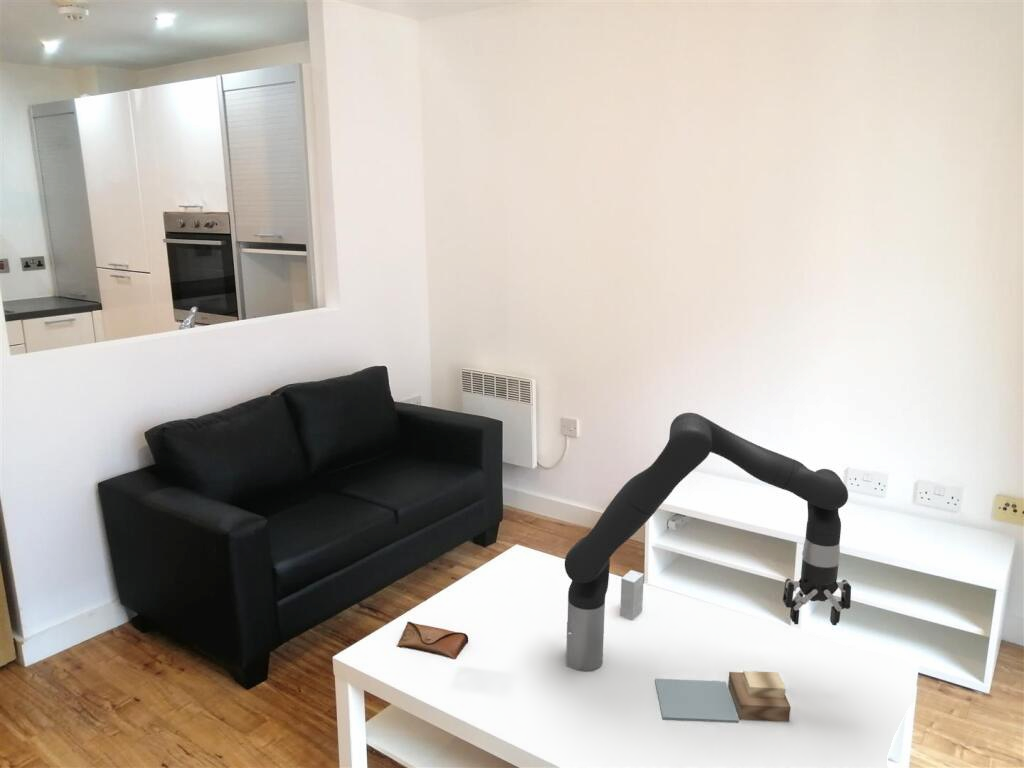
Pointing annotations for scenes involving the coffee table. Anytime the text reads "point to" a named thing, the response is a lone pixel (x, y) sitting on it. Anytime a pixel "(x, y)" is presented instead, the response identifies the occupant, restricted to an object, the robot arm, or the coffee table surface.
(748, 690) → the oak tile
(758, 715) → the block
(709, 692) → the grey mat
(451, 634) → the sunglasses case
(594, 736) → the coffee table surface
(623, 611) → the skincare box
